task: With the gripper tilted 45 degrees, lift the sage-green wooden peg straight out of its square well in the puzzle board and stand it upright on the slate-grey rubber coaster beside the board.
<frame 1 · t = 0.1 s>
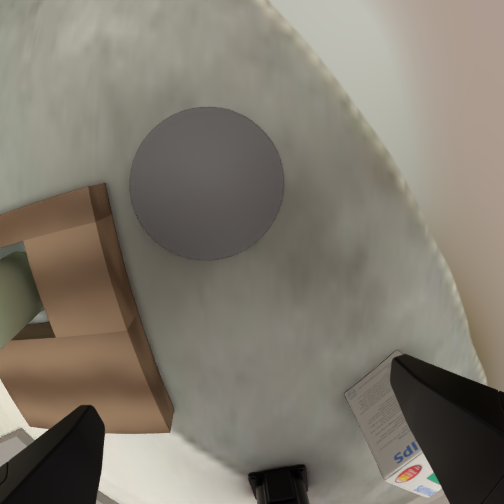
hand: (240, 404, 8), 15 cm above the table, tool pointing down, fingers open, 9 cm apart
coaster: (206, 183, 21), on the table
light bulb box: (392, 393, 27), on the table
puzzle board: (56, 324, 22), on the table
peg: (24, 283, 21), resting in puzzle board
award plaque: (43, 489, 31), on the table
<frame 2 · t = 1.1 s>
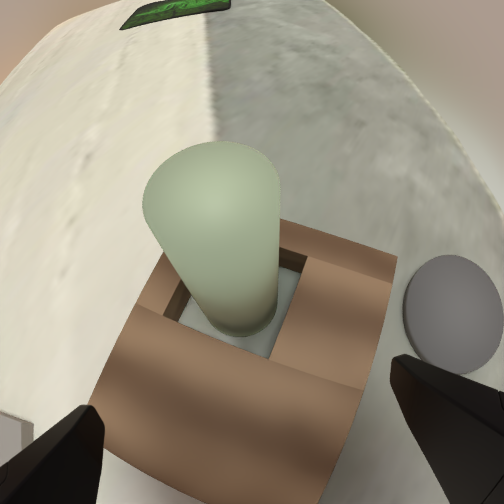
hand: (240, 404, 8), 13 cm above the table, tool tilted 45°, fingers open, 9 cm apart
coaster: (454, 314, 22), on the table
puzzle board: (244, 360, 21), on the table
mouse mat: (178, 8, 61), on the table
peg: (240, 301, 24), resting in puzzle board
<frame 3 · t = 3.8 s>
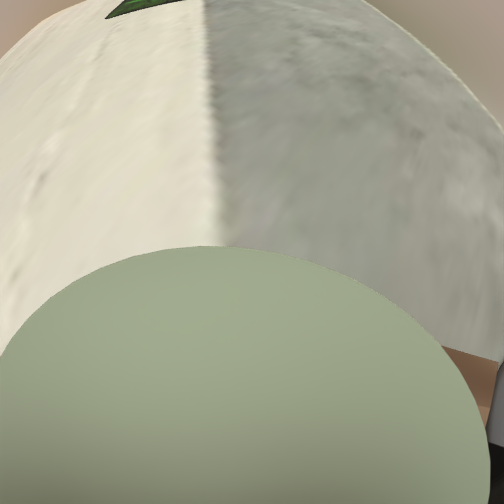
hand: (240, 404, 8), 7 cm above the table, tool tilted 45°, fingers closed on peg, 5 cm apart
peg: (258, 433, 13), resting in puzzle board, touching gripper
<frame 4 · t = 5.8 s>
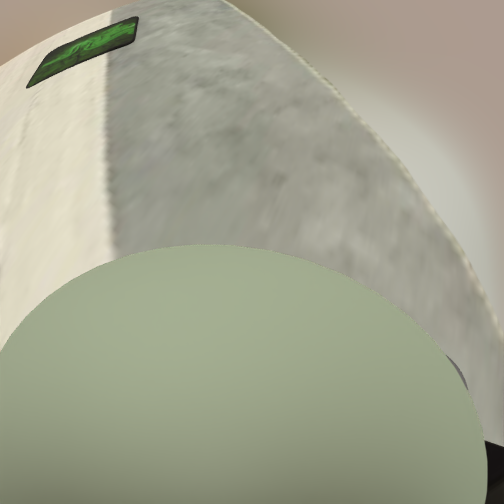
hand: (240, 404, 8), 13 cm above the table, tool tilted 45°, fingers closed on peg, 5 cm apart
mouse mat: (83, 49, 54), on the table
peg: (258, 432, 13), point 7 cm above the table, touching gripper
when the fingers open (8 cm above the table, at t = 8.2 s): peg stays where it is, resting on coaster.
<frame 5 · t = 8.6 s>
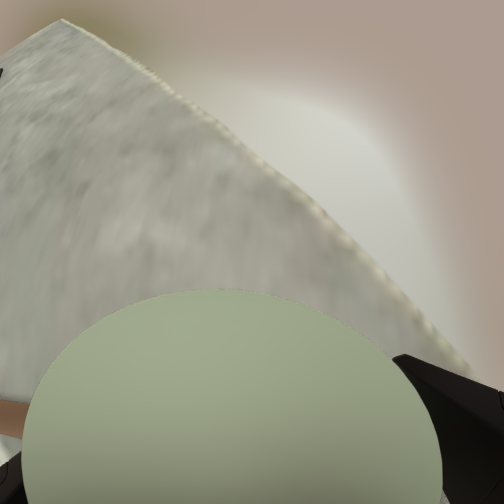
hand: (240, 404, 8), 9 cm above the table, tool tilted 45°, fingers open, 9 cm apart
peg: (257, 432, 14), point 1 cm above the table, touching coaster
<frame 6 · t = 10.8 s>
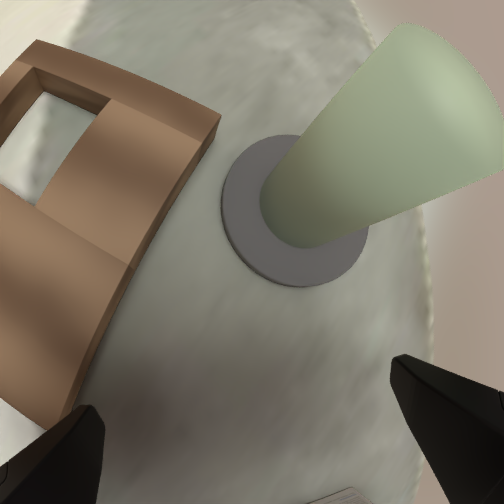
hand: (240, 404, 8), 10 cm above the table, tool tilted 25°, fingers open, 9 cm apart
coaster: (297, 209, 20), on the table
puzzle board: (31, 211, 16), on the table
peg: (301, 204, 19), point 1 cm above the table, touching coaster
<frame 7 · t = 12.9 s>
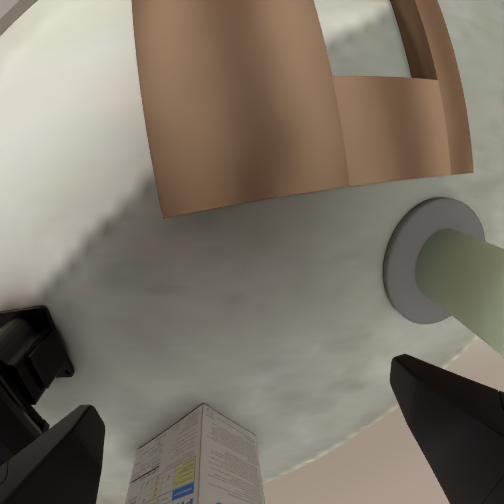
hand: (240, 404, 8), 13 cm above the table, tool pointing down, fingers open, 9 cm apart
coaster: (436, 261, 22), on the table
light bulb box: (193, 443, 25), on the table
puzzle board: (308, 63, 17), on the table
peg: (443, 264, 21), point 1 cm above the table, touching coaster
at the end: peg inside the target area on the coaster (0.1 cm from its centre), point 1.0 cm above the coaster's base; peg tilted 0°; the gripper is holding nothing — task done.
